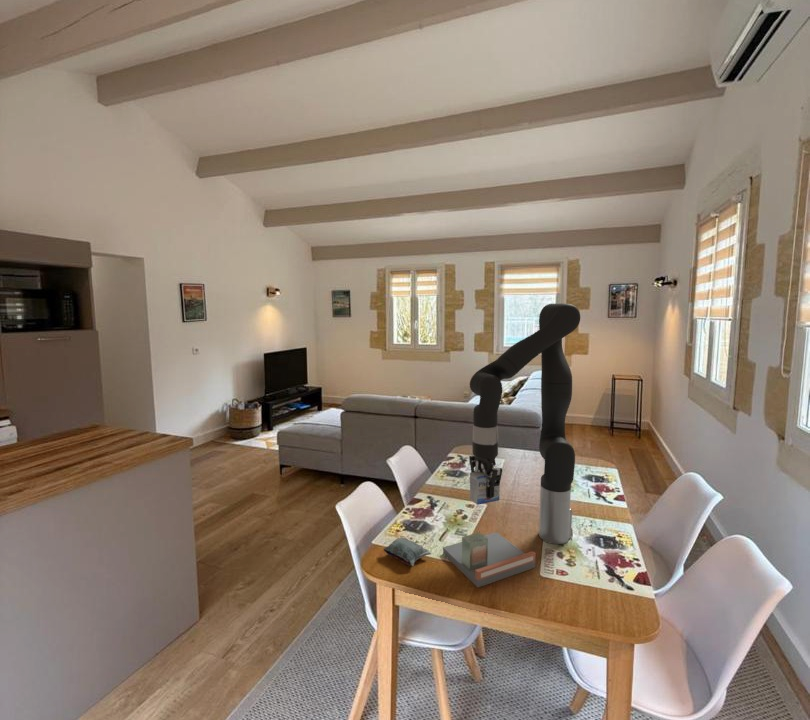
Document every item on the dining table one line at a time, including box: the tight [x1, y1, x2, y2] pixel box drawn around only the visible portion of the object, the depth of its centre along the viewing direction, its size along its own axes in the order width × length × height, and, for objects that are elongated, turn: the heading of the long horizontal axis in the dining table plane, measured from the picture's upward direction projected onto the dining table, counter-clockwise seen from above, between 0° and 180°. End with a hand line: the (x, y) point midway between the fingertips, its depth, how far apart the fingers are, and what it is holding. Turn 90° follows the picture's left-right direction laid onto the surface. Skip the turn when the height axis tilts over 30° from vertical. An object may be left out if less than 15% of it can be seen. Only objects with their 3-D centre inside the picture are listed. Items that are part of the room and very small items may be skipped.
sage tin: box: [461, 531, 488, 571], centre depth 124 cm, size 6×4×8 cm
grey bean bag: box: [383, 536, 432, 567], centre depth 131 cm, size 9×12×5 cm
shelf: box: [442, 531, 536, 588], centre depth 129 cm, size 20×18×4 cm
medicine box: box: [469, 471, 501, 506], centre depth 132 cm, size 8×4×9 cm, turn 110°
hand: (484, 494), depth 132 cm, fingers closed on medicine box, 4 cm apart
